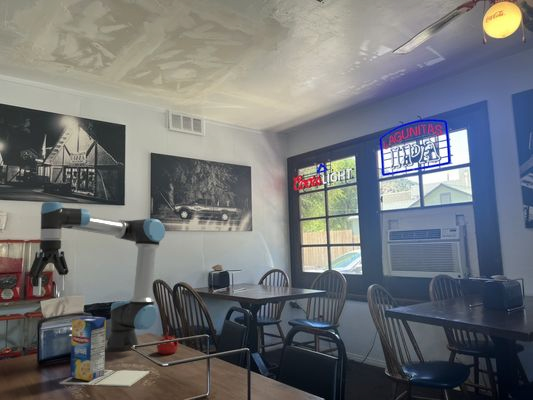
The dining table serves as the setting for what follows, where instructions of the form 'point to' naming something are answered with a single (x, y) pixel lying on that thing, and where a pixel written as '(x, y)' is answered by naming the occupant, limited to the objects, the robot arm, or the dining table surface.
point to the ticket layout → (114, 378)
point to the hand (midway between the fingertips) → (49, 292)
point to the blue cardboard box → (88, 347)
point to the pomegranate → (167, 346)
